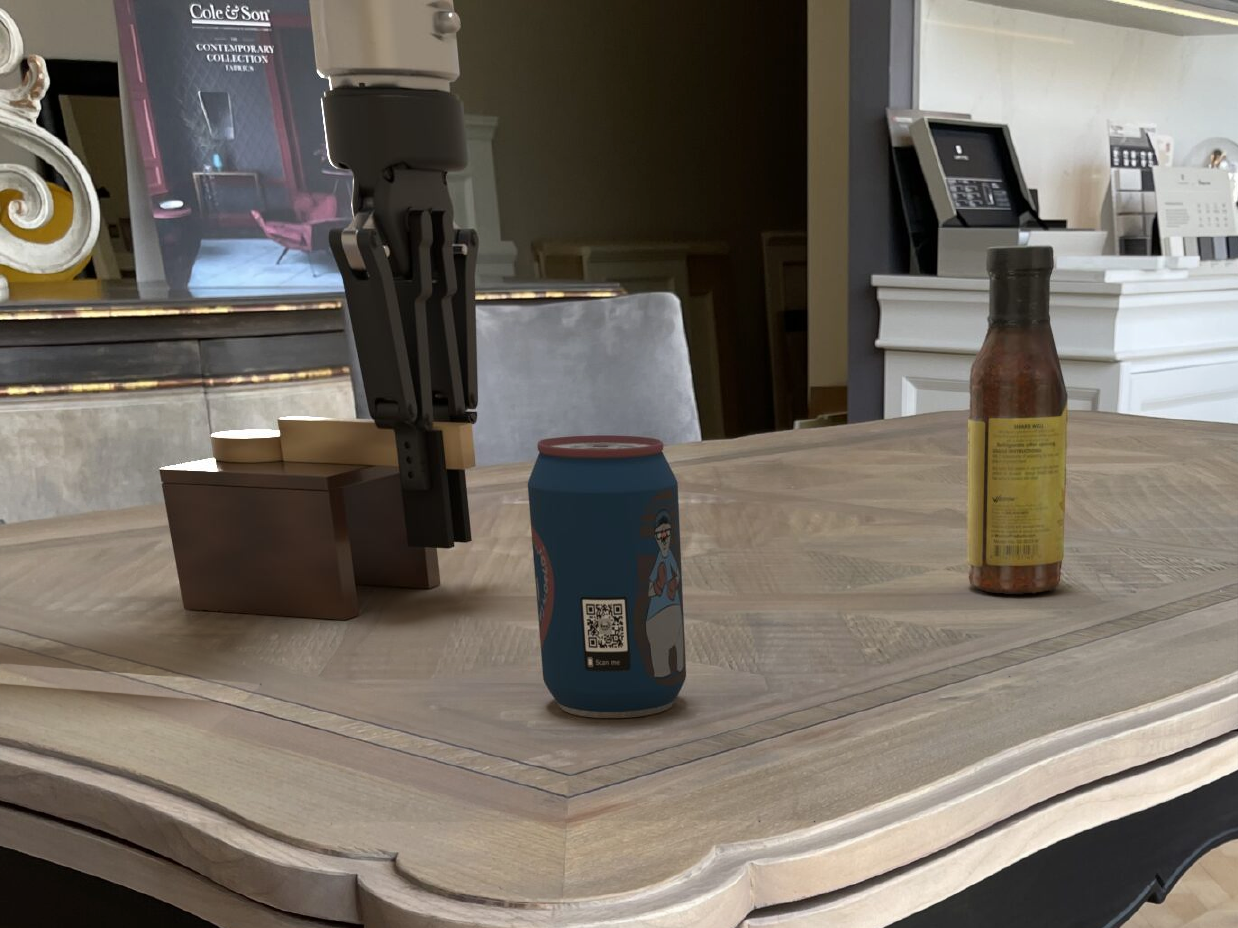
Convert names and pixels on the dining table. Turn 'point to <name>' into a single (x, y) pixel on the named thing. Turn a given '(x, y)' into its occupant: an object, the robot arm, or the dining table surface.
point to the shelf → (289, 536)
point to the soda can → (608, 574)
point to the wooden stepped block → (334, 443)
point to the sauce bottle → (1017, 432)
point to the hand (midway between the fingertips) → (440, 542)
